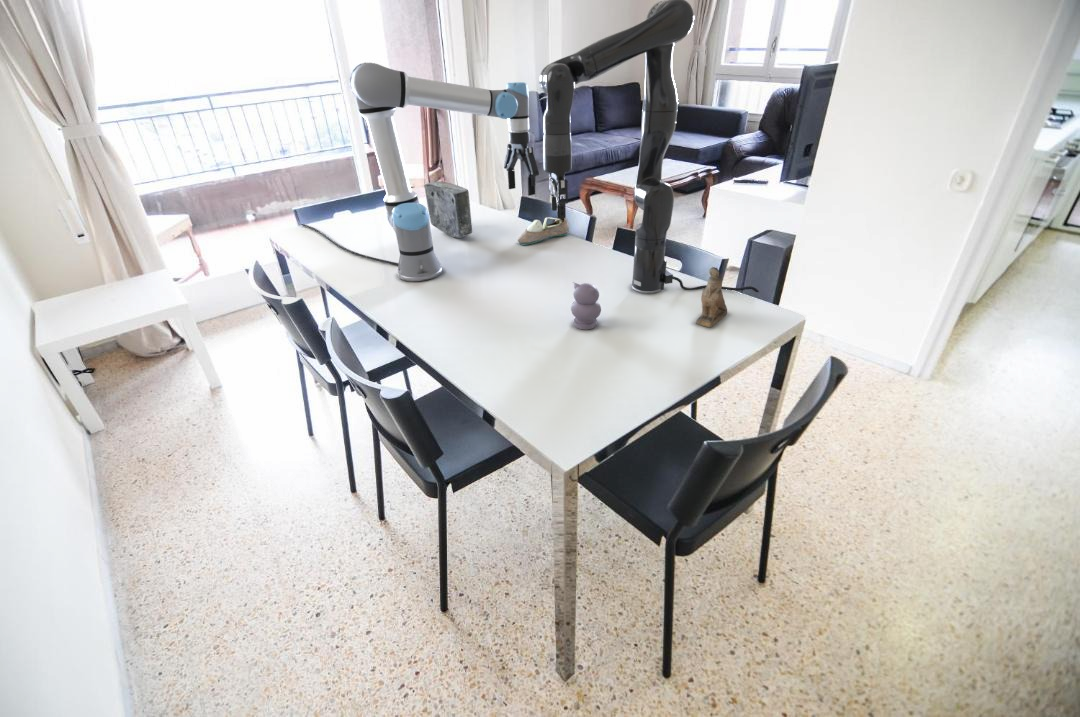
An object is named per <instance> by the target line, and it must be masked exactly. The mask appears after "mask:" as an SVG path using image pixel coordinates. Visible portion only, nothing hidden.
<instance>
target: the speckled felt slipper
mask: <svg viewBox="0 0 1080 717" xmlns="http://www.w3.org/2000/svg"><path fill="white" fill-rule="evenodd" d="M548 219H549V220H555V221H552V222H551V223H548V224H547V221H548ZM569 232H570V227H569V223H568V219H567V218H566V217H565V218H563V219H558V217H557V218H556V217H548V216H547V217H544V219H543V222H542V221H541V220H540V219H533V221H532V222H531V224H530V225H528V227H527V228H526V229H525V230H524V231H523V233H521V235H520V236H519V237H518V238H517V240H516V241H517V243H518V244H519V245H521V246H526V245H532V244H535V243H539V242H541V241H543V240H545V239H546V238H553V237H562V236H567V235H568V233H569Z"/></svg>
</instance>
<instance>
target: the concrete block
mask: <svg viewBox="0 0 1080 717" xmlns="http://www.w3.org/2000/svg"><path fill="white" fill-rule="evenodd" d="M424 192H425V198H426V204H427V211H428V214H429V222H430V225H432V226H433V227H434V228H436V229H438V230H439V231H441V232H443V233H444V234H446V235H448V236H449V237H452V238H464V237H465V236H468V235H471V234H472V233H473V223H472V214H471V203H470V193H469V189H467V188H465V187H463V186H460V185H458V184H454V183H452V182H447V181H440V180H439V181H431V182H428V183H427V182H426V183H425V184H424Z"/></svg>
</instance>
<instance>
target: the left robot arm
mask: <svg viewBox="0 0 1080 717" xmlns="http://www.w3.org/2000/svg"><path fill="white" fill-rule="evenodd" d="M349 84H350V89H351V92H352V93H353V96H354V99H355V101H356V106H357V109H358V113H359V115H360V116H361V117H363V118H364V119H365V120H366V124H367V126H368V130H369V135H370V138H371V141H372V145H373V149H374V152H375V156H376V159H377V163H378V167H379V170H380V175H381V178H382V181H383V185H384V189H385V193H386V194H385V196H384V198H383V202H384V206H385V209H386V216H387V221H388V223H389V225H390V226H391V228H392V229H393V231H394V233H395V236H396V241H397V247H398V251H399V259H398V262H395V261H390V260H386V259H381V258H376V257H373V256H369V255H366V254H362V253H359V252H356V251H354V250H351V249H349V248H346V247H344V246H342V245H341V244H340V243H337V241H335V240H333V239H332V238H331V237H330V236H328V235H326V234H325V233H324V232H322V230H321V231H320V230H319V229H317V228H315V227H313V226H311V225H308V224H306V223H301V226H303V227H306V228H308V229H311V230H313V231H315V232H317V233H318V234H320V235H322V236H324V237H325V239H327V240H329V242H331V243H333V244H334V245H335V246H337V247H339V248H340V249H342V250H344V251H345V252H348V253H351V254H353V255H356V256H359V257H362V258H365V259H368V260H373V261H376V262H380V263H386V264H390V265H395V266H397V276H398V278H399V279H400V280H402V281H406V282H413V283H414V282H425V281H429V280H432V279H435V278H438V277H439V276H440V275H441V274H442V273H443V268H442V264H441V263H440V260H439V259H438V256H437V254H436V252H435V250H434V243H433V236H432V230H431V222H430V216H429V211H428V207H426V206H425V205H424V204H421V203H420V201H419V198H418V197H419V196H418V193H417V192H416V191H414V190H413V189H412V187H411V183H410V179H409V175H408V170H407V166H406V162H405V157H404V154H403V151H402V145H401V141H400V138H399V134H398V129H397V125H396V121H395V117H394V114H395V113H396V111H397V108H401V109H405V108H406V107H407V106H413V107H422V108H428V109H436V110H443V111H452V112H457V113H458V112H459V113H464V114H473V115H477V116H484V117H486V116H487V117H492V118H500V119H502V120H507V125H508V140H509V141H508V142H509V143H507V144H506V154H505V157H504V164H503V169H504V170H505V169H506V170H505V171H506V172H507V185H508V186H507V187H508V190H513V189H516V171H515V166H516V165H517V162H518V160H520V161H521V162H522V163H523V166H524V168H525V170H526V173H527V196H534V195H536V177H537V176H539V175H540V173H539V169H538V165H537V162H536V157H535V154H534V147H533V146H530V147H528V144H529V143H530V142H531V137H530V136H531V134H530V131H529V130H530V102H529V100H530V96H529V88H528V87H529V86H528V84H527V83H526V82H522V81H520V82H518V81H515V82H507V83H506V86H505V88H504V89H487V88H481V87H475V86H470V85H463V84H457V83H450V82H445V81H438V80H432V79H426V78H420V77H414V76H410V75H409V76H408V75H407V73H406V72H405V71H400V70H396V69H392V68H389V67H386V66H384V65H382V64H378V63H375V62H362V63H359V64H358V65H357V66H356V65H355V67H354V68H353V69H352V71H351V74H350V78H349Z"/></svg>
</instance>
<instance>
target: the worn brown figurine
mask: <svg viewBox="0 0 1080 717" xmlns="http://www.w3.org/2000/svg"><path fill="white" fill-rule="evenodd" d="M708 273H709V275H710V276H709V278H708V279H707V280H708V281H707V284H706V285H707V287H705V288H702V289H703V290H702V292H701V297H700V298H701V309H702V312H701V315H700V316H699V317H698V318H697V319H696V321H695V324H696V325H699V326H703V327H705V328H712V327H714V326H715V325H716V324H717V323H719V321H721V320H722V319H723V318H725V317H726V316H727V315H728V307H727V304H726V301H725V298H724V293H723V289H721V288H722V286H723V281H722V279H721V278H720V270H719V269H718V268H717V267H715V266H712V267H711V268H710V269H709V270H708Z"/></svg>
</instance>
